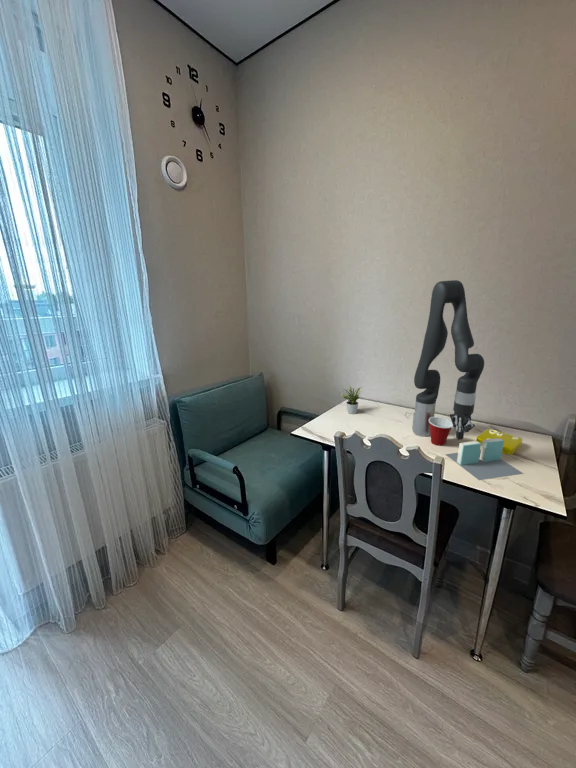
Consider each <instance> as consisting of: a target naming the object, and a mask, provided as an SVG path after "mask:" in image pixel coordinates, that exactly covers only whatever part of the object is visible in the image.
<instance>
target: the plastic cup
mask: <svg viewBox="0 0 576 768" xmlns="http://www.w3.org/2000/svg"><path fill="white" fill-rule="evenodd" d="M429 424H430V436H429V437H430V443H431V444H432V445H435V446H439V447H443V446H445V444H446V442H447V440H448V438H449V435H450V432H451V430H452V428H454V427H453V424H452V421H451V419H450V420H449V419H447V418H444V417H440V416H434V417H431V418H429Z"/></svg>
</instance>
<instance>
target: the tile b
mask: <svg viewBox="0 0 576 768" xmlns="http://www.w3.org/2000/svg"><path fill="white" fill-rule="evenodd" d="M503 444H504V440H502V439H500V438H495V439H488V440H483V442H482V446H481V447H480V450H481V454H480V460H482V461H483V462H487V461H494V460H500V459H501V458H502V454H503V453H502V449H503Z"/></svg>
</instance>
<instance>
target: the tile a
mask: <svg viewBox="0 0 576 768" xmlns="http://www.w3.org/2000/svg"><path fill="white" fill-rule="evenodd" d="M481 448H482V446H481V443H479V442H478V441H476V440H475V441H474V440H473V441H464V442H459V445H458V450H457V453H458V457H457V463H459V464H460V465H466V464H473V463H478V459H479V453H480V450H481ZM457 463H456V464H457ZM459 464H458V465H459ZM460 465H459V466H460Z"/></svg>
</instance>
